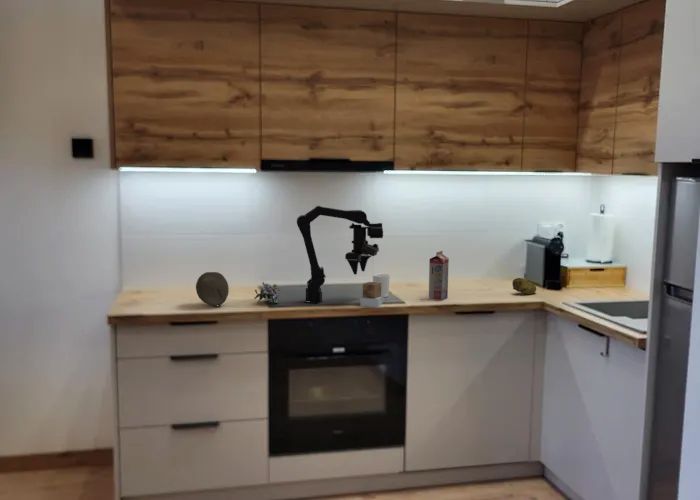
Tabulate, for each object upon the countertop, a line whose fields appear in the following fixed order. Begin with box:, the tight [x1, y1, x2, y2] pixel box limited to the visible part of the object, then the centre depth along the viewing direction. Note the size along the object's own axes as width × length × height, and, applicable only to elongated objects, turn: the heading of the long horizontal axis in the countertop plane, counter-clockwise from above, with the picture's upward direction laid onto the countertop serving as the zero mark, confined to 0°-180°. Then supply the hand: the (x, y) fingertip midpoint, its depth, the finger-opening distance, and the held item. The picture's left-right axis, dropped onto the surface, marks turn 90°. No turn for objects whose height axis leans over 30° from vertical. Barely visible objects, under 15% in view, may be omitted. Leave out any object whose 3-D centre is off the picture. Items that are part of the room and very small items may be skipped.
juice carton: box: [428, 250, 450, 302], centre depth 305 cm, size 7×7×22 cm
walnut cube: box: [362, 281, 381, 299], centre depth 291 cm, size 6×6×6 cm
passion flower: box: [253, 281, 281, 304], centre depth 293 cm, size 11×11×12 cm
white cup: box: [372, 273, 390, 298], centre depth 310 cm, size 8×8×10 cm
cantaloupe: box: [195, 271, 230, 307], centre depth 286 cm, size 14×14×15 cm
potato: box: [512, 277, 537, 295], centre depth 318 cm, size 8×13×8 cm, turn 98°
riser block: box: [359, 296, 383, 308], centre depth 291 cm, size 8×8×4 cm
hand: (359, 272), depth 297 cm, fingers open, 9 cm apart
